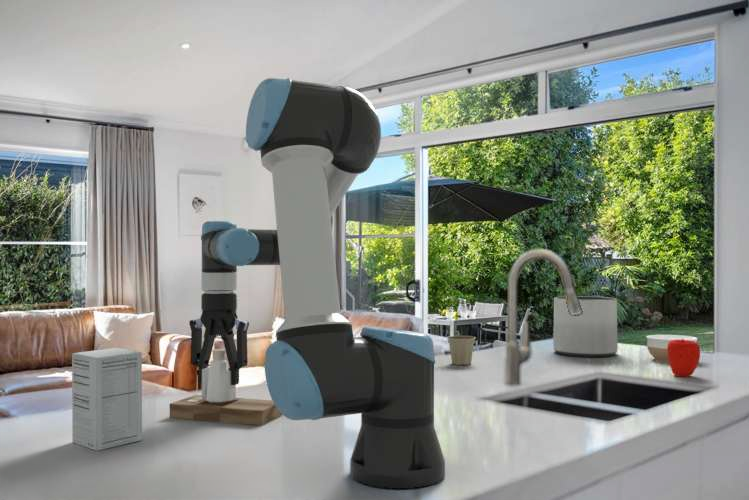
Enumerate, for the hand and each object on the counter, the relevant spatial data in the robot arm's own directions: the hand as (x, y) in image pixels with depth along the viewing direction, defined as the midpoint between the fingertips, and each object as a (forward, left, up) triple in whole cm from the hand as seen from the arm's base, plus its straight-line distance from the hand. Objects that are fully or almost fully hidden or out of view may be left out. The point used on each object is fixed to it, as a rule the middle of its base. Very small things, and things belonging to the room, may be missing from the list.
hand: (218, 398), depth 151 cm
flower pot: (+89, -37, -4) cm, 97 cm away
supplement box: (-25, +9, -4) cm, 27 cm away
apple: (+87, -103, -4) cm, 135 cm away
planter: (+127, -75, -4) cm, 148 cm away
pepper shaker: (0, 0, 0) cm, 0 cm away
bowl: (+119, -103, -4) cm, 157 cm away
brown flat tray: (0, -2, -4) cm, 4 cm away
